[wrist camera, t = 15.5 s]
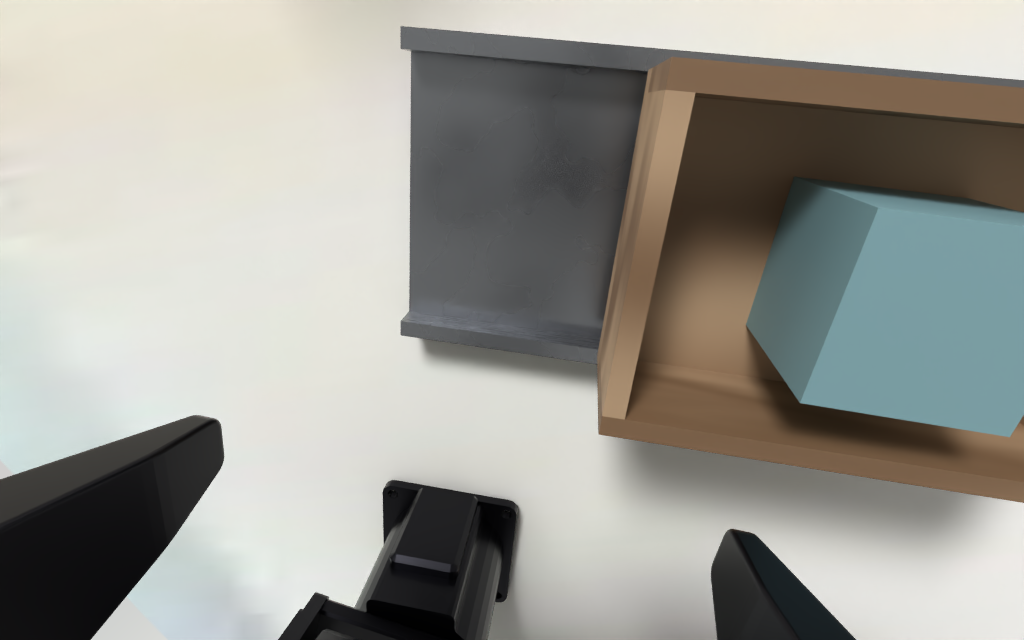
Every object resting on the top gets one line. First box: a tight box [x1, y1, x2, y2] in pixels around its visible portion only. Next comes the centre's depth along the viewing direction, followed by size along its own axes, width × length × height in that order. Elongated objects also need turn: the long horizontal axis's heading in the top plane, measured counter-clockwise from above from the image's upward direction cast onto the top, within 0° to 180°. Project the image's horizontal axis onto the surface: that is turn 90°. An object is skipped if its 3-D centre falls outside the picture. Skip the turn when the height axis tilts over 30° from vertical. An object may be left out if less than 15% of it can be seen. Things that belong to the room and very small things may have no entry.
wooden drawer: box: [597, 57, 1024, 503], centre depth 14 cm, size 9×13×6 cm
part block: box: [746, 177, 1024, 437], centre depth 13 cm, size 4×4×4 cm
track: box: [401, 26, 1024, 364], centre depth 17 cm, size 10×21×2 cm, turn 85°
